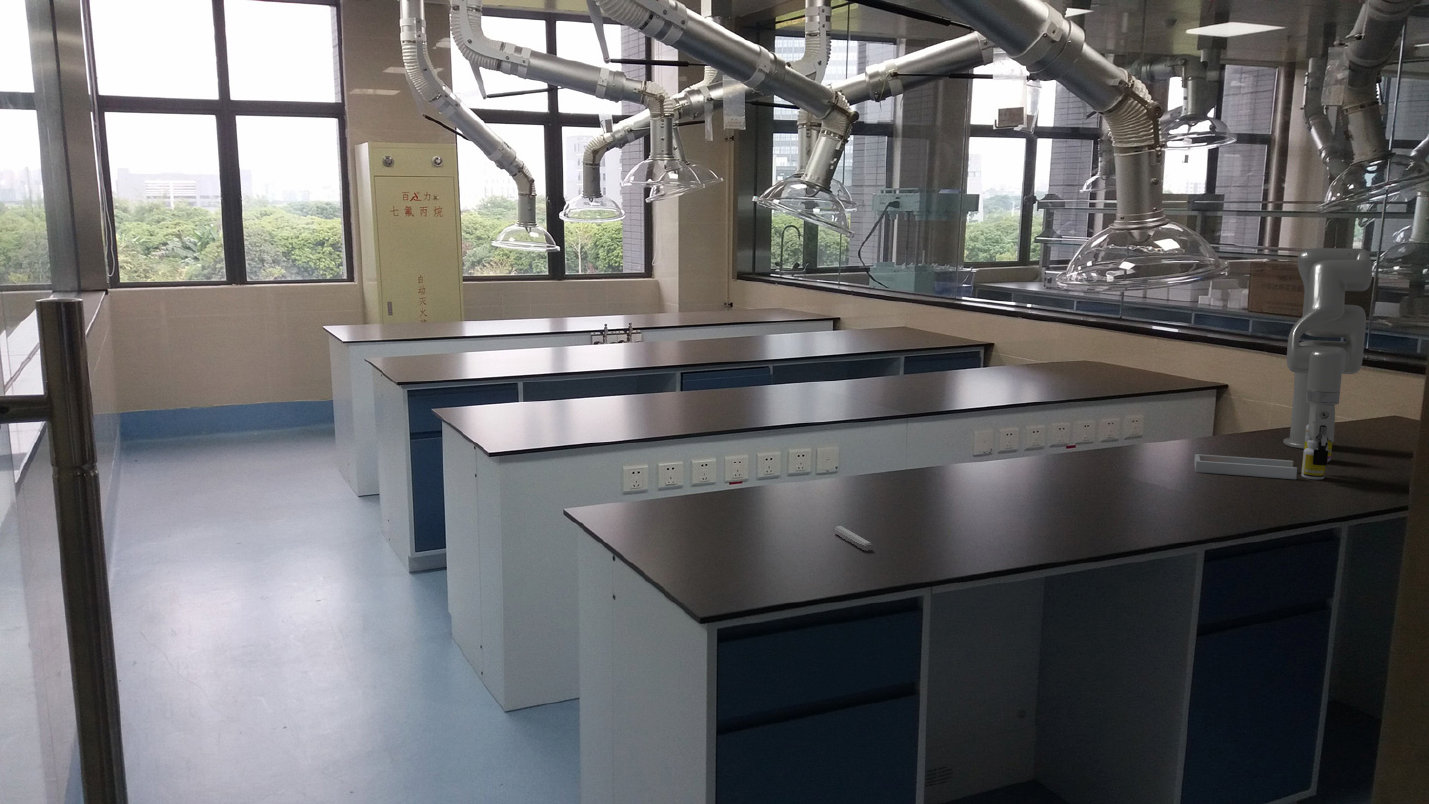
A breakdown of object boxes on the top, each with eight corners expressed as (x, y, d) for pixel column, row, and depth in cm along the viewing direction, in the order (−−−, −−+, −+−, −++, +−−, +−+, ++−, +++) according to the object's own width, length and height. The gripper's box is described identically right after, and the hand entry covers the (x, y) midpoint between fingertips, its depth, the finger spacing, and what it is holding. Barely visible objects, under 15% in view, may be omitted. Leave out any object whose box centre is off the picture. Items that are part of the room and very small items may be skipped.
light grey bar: (833, 534, 233) (869, 554, 218) (826, 531, 232) (861, 551, 217) (838, 524, 233) (874, 543, 218) (831, 520, 232) (867, 540, 217)
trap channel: (1194, 464, 287) (1195, 454, 286) (1291, 471, 278) (1292, 460, 277) (1195, 472, 279) (1196, 461, 278) (1296, 479, 269) (1297, 468, 269)
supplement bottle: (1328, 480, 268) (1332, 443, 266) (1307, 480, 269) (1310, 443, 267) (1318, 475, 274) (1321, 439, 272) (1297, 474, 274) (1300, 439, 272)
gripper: (1345, 403, 258) (1338, 469, 261) (1333, 393, 274) (1328, 455, 277) (1310, 401, 261) (1305, 467, 264) (1301, 391, 277) (1296, 453, 280)
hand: (1316, 461), depth 270 cm, fingers open, 9 cm apart
